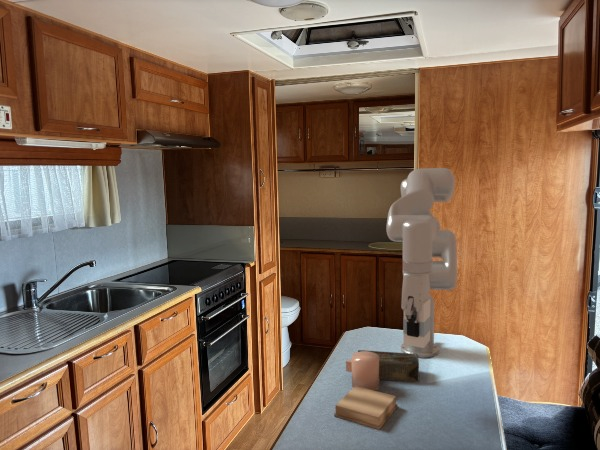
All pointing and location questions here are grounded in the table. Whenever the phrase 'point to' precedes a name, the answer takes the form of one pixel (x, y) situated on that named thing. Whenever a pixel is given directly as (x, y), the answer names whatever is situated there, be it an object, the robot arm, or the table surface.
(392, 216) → the robot arm
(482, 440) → the table surface
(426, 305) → the slim carton
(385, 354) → the beverage carton
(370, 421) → the plinth
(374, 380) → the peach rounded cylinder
